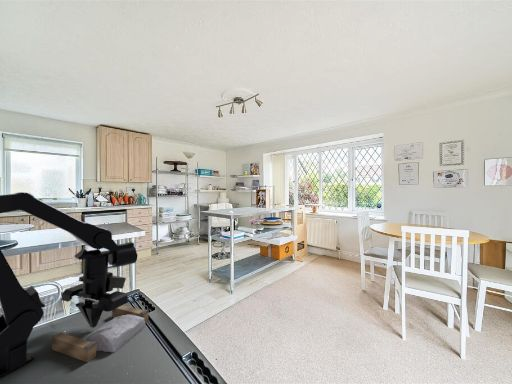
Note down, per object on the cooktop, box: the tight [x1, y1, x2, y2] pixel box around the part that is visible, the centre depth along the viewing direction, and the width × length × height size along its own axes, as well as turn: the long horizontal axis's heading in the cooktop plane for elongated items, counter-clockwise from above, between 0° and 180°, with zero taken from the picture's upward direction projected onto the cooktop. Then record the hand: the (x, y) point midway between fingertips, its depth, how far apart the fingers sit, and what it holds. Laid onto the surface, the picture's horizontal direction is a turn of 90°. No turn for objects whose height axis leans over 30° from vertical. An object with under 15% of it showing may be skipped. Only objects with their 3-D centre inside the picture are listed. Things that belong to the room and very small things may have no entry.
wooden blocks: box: [51, 305, 150, 364], centre depth 62 cm, size 12×18×3 cm
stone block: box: [86, 314, 146, 354], centre depth 61 cm, size 12×5×10 cm
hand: (93, 326), depth 63 cm, fingers closed
